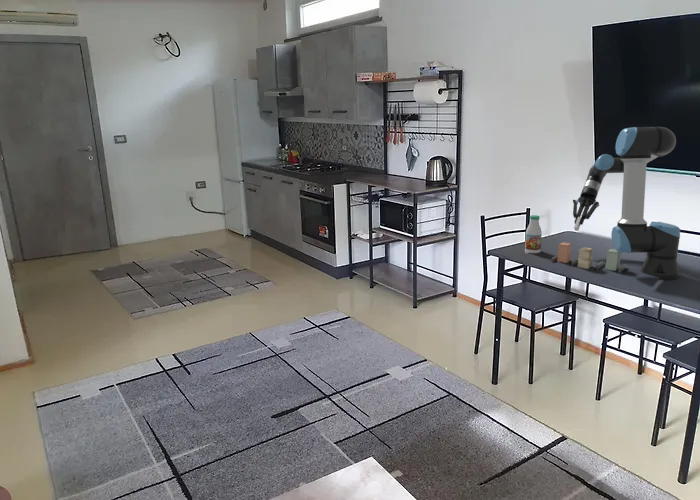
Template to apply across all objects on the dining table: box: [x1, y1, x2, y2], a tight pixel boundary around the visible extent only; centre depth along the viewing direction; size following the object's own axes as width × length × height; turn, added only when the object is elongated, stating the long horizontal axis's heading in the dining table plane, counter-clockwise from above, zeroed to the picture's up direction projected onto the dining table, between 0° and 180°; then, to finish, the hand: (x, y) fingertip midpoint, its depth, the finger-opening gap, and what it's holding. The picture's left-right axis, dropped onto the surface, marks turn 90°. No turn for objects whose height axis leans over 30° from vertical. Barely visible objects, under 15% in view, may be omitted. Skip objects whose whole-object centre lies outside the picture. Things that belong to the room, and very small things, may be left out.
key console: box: [550, 254, 627, 274], centre depth 255 cm, size 10×31×3 cm, turn 49°
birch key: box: [577, 247, 594, 270], centre depth 251 cm, size 5×4×9 cm
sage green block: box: [605, 248, 622, 272], centre depth 247 cm, size 5×4×9 cm
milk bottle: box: [524, 214, 542, 255], centre depth 278 cm, size 8×8×20 cm
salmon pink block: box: [556, 241, 573, 264], centre depth 261 cm, size 5×4×9 cm
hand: (576, 229), depth 269 cm, fingers closed
